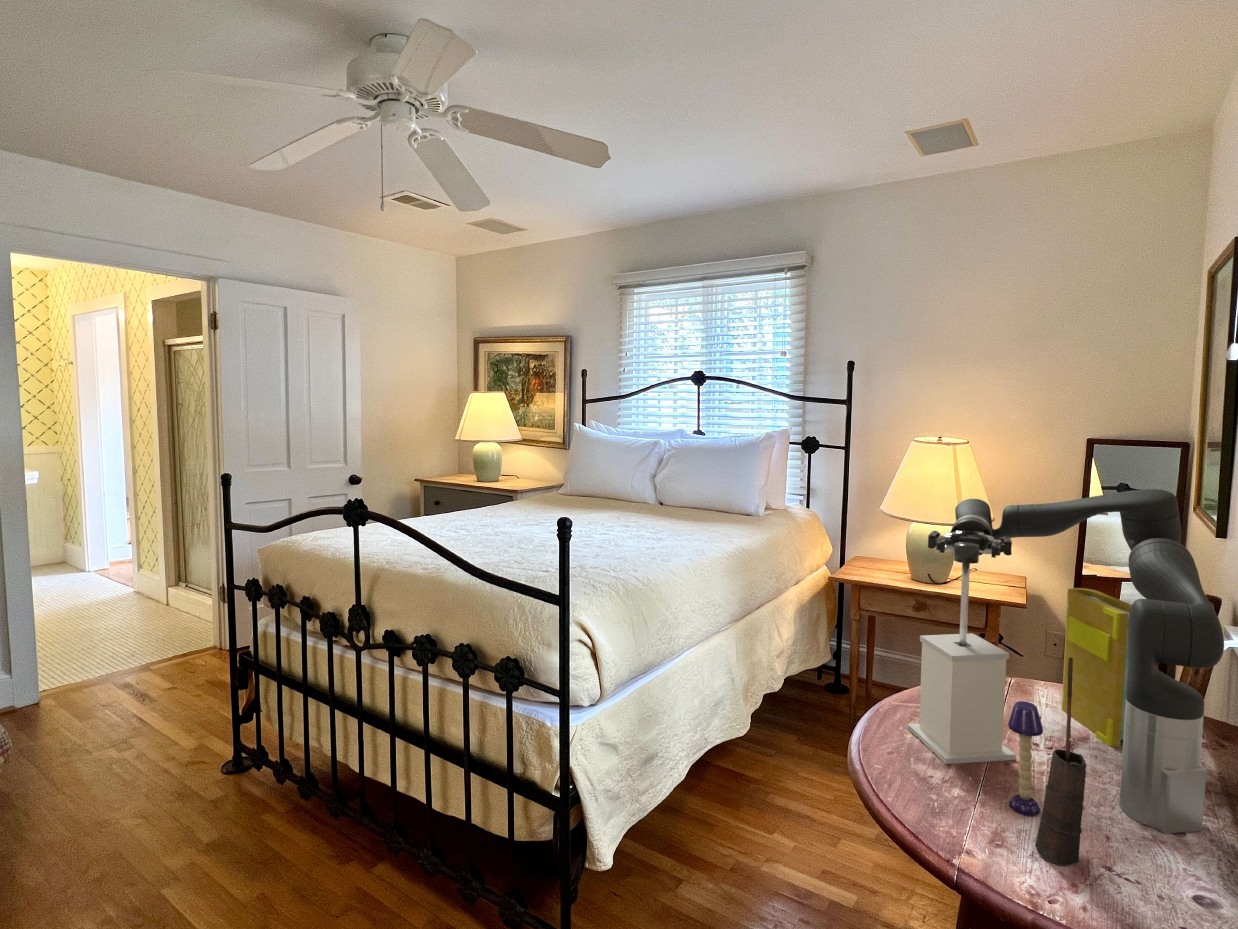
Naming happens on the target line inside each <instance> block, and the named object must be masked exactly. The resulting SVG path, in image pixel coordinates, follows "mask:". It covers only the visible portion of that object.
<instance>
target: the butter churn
mask: <svg viewBox="0 0 1238 929" xmlns="http://www.w3.org/2000/svg"><path fill="white" fill-rule="evenodd" d="M1072 671H1073V658H1072V657H1070V658H1069V660H1068V690H1067V714H1066V730H1065V731H1066V734H1065V735H1066V737H1065V739H1066V740H1065V749H1062V748H1061V749H1060V748H1057V749H1054V750H1053V752H1052V754H1051V756H1052V757H1051V760H1050V766H1049V772H1048V773H1049V774H1048V776H1047V777H1048V778H1047V784H1045V785H1046V786H1045V794H1044V799H1043V805H1042V810H1041V814H1040V818H1039V825H1038V830H1037V834H1036V840H1035V848H1036V850H1037V854H1038V855H1039V856H1040V857H1042V858H1043V859H1045V860H1047V861H1048V862H1051V863H1053V864H1056V865H1059V866H1064V867H1067V866H1069V865H1075V863H1079V861H1080V849H1081V848H1080V845H1081V834H1082V833H1083V831H1082V817H1083V809H1084V801H1085V787H1086V786H1085V785H1086V773H1087V772H1086V771H1087V770H1086V769H1087V763H1086V760H1085V758H1084V756H1083V755H1082V753H1078V752H1074V751H1071V743H1072V742H1071V740H1070V739H1071V738H1072V736H1071V732H1072V731H1071V729H1072V725H1071V724H1072V717H1071V697H1072V673H1073V672H1072Z"/></svg>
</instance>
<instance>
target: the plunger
mask: <svg viewBox="0 0 1238 929" xmlns="http://www.w3.org/2000/svg"><path fill="white" fill-rule="evenodd" d="M979 560H980V556H979V545H978V544H974V543H966V542H958V543H955V544H954V551H953V561H954V562H957V563H961V588H960V590H961V594H960V617H959V634H960V638H959V646H960V647H967V634H968V623H969V618H968V616H969V593H970V592H969V591H970V590H969V589H970V571H971V570H970V568H971V567H970V566H971V565H970V564H979V562H980V561H979Z"/></svg>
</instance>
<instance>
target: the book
mask: <svg viewBox="0 0 1238 929" xmlns="http://www.w3.org/2000/svg"><path fill="white" fill-rule="evenodd" d="M1131 606H1132V604H1131V603H1128V602H1126V601H1123V600H1121V599H1119V598H1116V597H1113V596H1111V595H1108V594H1106V593H1104V592H1102V591H1099V590H1095V589H1089V588H1082V587H1071V588H1068V589H1067V598H1066V617H1065V618H1066V619H1065V635H1064V636H1065V638H1064V653H1063V654H1064V655H1063V672H1062V674H1063V675H1062V691H1061V692H1062V693H1061V711H1062V712H1063V713H1065V714H1066V715H1067V690H1068V660H1069V658H1070V657H1072V658H1073V671H1072V672H1073V673H1072V697H1071V719H1073V720H1074V721H1076V722H1077V723H1079V724H1080V725H1082V726H1083V727H1085V728H1086V729H1087V730H1089V731H1090V732H1091V733H1093V734H1095V738H1097V739H1099V740H1100V741H1101V742H1103V744H1105V745H1106V746H1109V747H1121V741H1123V736H1124V720H1125V706H1126V690H1127V677H1128V618H1129V611H1130V608H1131Z"/></svg>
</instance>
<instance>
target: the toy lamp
mask: <svg viewBox="0 0 1238 929" xmlns="http://www.w3.org/2000/svg"><path fill="white" fill-rule="evenodd" d="M1007 724H1008V725H1007V726H1008V728H1009V729H1010V731H1012V732H1014V733H1015V734H1018V737H1019V741H1018V747H1019V749H1018V757H1019V759H1018V766H1019V769H1018V776H1019V777H1018V778H1019V779H1018V786H1019V788H1018V794H1015V795H1013V796H1011V798H1010V800H1009V801H1008V807H1009V808H1010V809H1011V810H1012V811H1013V812H1015V813H1017V814H1019V815H1021V816H1026V817H1038V816H1039V815H1041V807H1040V804H1039V803H1038V802H1037V800H1036V799H1034V798H1033V797H1032V795H1033V793H1032V790H1031V788H1032V786H1033V784H1032V780H1031V779H1032V776H1033V775H1032V771H1031V770H1032V761H1031V760H1032V756H1033V754H1032V748H1033V747H1032V746H1033V744H1032V738H1033V737H1037V736H1041V735H1042V734H1043V733H1044V728H1043V727H1044V726H1043V724H1042V720H1041V717H1040V713H1039V710H1038V707H1037V706H1036V705H1035V704H1033V703H1032V702H1029V701H1023V700H1021V701H1019V700H1018V701H1017V702H1015V703H1014V705H1013V707H1012V711H1011V713H1010V717H1009V719H1008V723H1007Z"/></svg>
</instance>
